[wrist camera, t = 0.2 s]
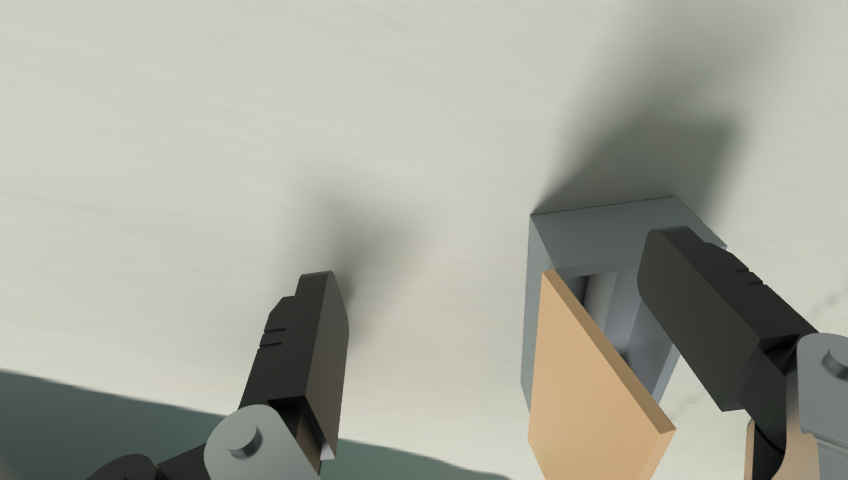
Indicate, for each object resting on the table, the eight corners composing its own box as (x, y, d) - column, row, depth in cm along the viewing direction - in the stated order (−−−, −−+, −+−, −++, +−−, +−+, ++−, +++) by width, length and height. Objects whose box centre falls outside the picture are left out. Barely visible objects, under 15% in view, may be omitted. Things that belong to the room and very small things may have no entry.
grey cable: (590, 236, 32) (601, 253, 30) (617, 233, 32) (629, 249, 30) (567, 374, 43) (574, 391, 41) (586, 372, 43) (594, 389, 41)
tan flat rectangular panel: (553, 268, 27) (542, 271, 27) (676, 429, 18) (660, 434, 18) (535, 437, 40) (527, 440, 40) (600, 575, 32) (591, 579, 31)
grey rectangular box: (529, 215, 31) (555, 268, 27) (675, 196, 31) (727, 245, 26) (520, 382, 45) (536, 437, 40) (622, 369, 45) (650, 423, 40)
